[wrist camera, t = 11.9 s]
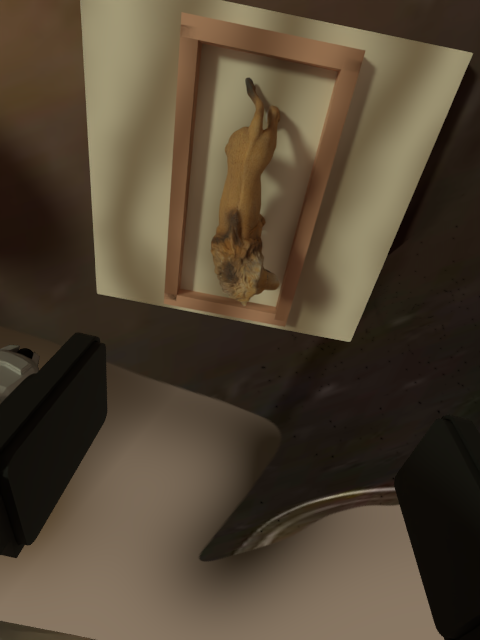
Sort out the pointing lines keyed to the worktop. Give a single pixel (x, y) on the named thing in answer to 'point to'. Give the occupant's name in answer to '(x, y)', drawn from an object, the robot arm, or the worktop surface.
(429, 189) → the worktop surface
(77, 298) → the worktop surface
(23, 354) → the robot toy
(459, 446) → the robot arm
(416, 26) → the worktop surface
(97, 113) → the base plate
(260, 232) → the lion figurine
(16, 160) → the worktop surface
